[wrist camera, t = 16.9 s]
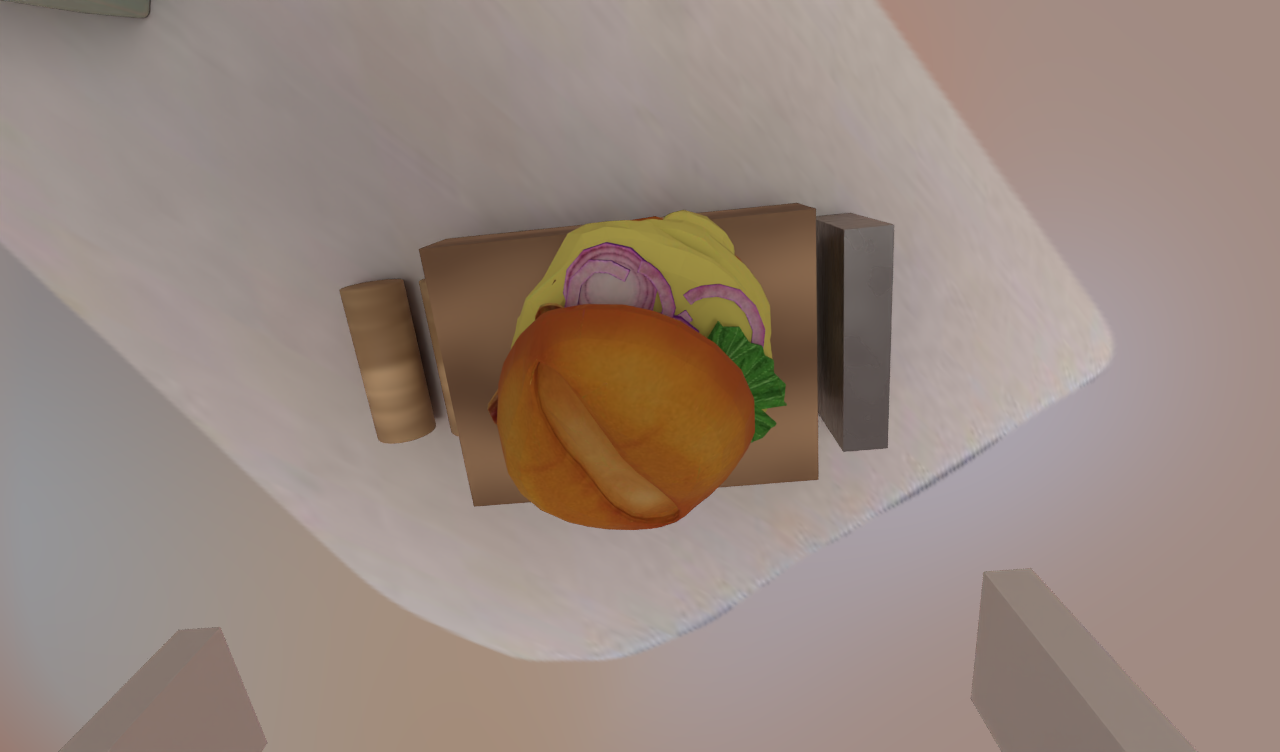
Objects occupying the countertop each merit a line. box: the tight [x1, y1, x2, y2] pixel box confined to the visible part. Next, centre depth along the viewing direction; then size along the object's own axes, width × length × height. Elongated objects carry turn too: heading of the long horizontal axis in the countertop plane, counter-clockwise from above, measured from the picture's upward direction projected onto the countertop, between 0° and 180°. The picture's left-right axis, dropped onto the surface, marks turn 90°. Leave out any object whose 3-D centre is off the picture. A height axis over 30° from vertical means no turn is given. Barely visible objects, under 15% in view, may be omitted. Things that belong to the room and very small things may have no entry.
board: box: [419, 203, 818, 506], centre depth 29 cm, size 12×16×4 cm
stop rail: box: [816, 213, 894, 452], centre depth 30 cm, size 10×2×6 cm, turn 6°
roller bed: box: [339, 279, 459, 443], centre depth 32 cm, size 8×23×3 cm, turn 96°
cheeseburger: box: [487, 210, 787, 530], centre depth 23 cm, size 10×11×10 cm
